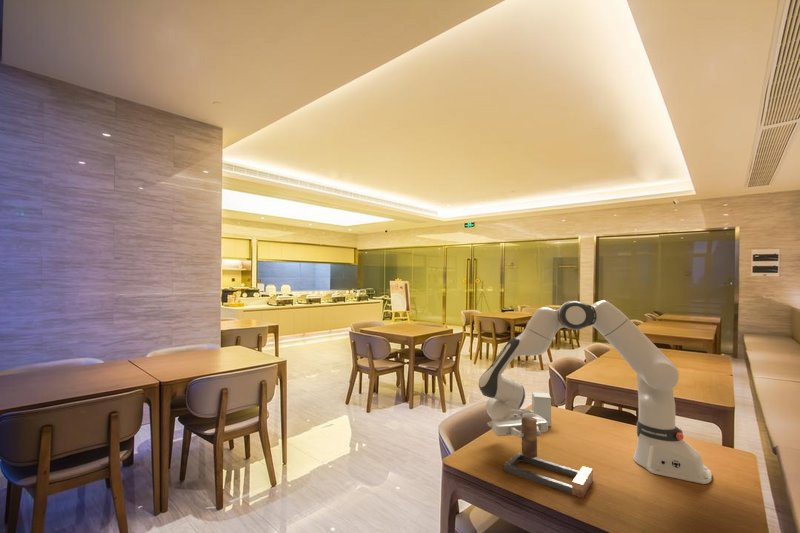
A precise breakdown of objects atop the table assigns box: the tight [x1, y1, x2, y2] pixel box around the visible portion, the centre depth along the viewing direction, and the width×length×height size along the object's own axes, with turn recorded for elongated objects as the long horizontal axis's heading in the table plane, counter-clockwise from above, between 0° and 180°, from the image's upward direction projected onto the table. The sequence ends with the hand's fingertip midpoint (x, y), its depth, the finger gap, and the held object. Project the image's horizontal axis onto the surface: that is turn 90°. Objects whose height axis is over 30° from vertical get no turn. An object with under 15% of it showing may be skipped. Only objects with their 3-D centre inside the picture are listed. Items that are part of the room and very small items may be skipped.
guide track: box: [503, 452, 594, 499], centre depth 129 cm, size 25×12×4 cm, turn 51°
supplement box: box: [531, 392, 552, 427], centre depth 176 cm, size 7×7×13 cm
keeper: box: [521, 417, 538, 458], centre depth 133 cm, size 5×5×12 cm
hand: (530, 434), depth 132 cm, fingers closed on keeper, 5 cm apart
